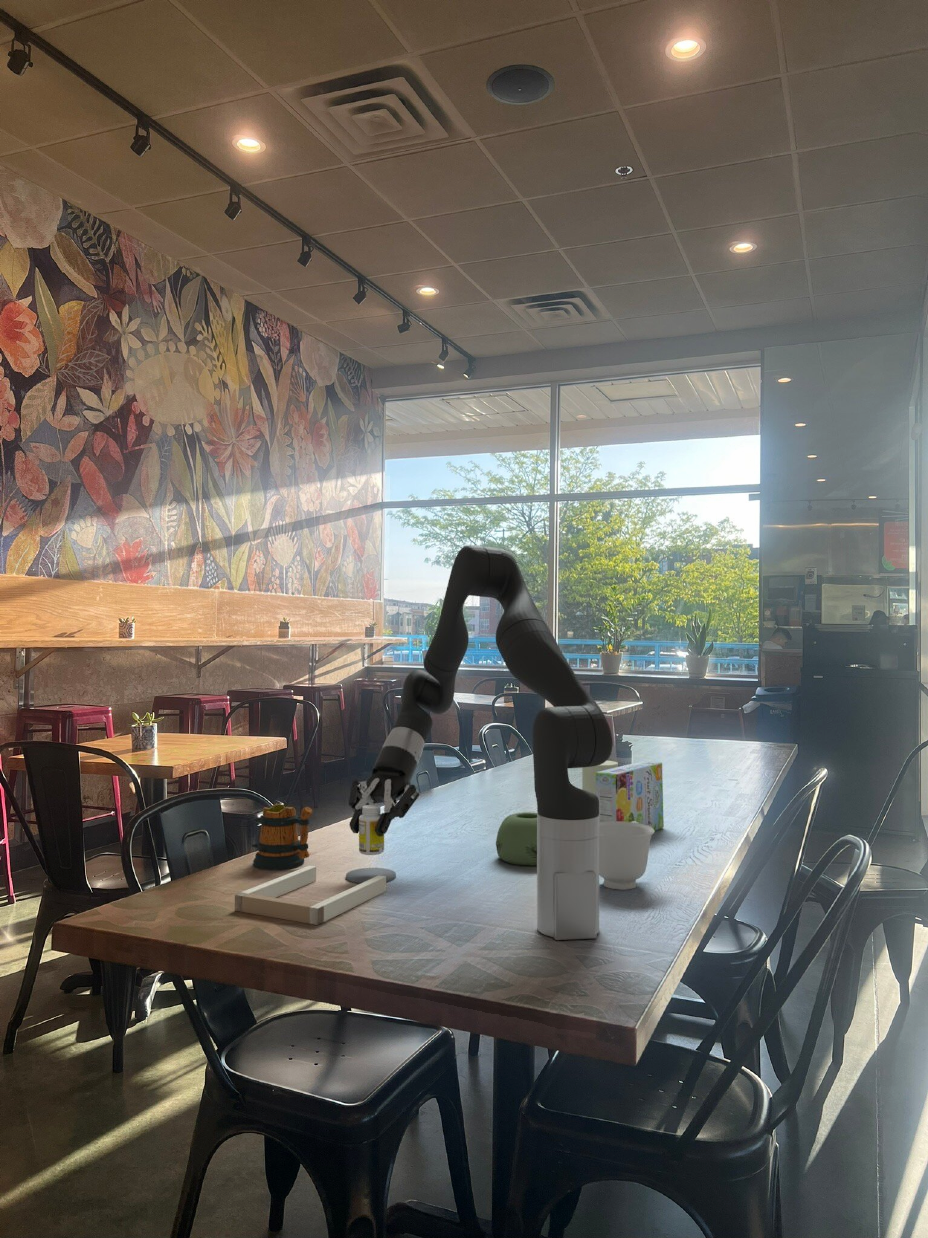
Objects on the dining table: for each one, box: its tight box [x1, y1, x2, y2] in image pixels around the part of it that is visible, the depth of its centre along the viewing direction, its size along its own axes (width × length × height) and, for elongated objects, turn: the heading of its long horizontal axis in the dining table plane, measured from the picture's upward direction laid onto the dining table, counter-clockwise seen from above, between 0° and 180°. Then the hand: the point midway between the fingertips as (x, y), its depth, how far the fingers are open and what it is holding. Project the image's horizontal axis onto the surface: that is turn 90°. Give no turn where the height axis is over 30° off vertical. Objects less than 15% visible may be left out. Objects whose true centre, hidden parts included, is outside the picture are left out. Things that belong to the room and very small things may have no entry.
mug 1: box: [251, 803, 313, 871], centre depth 171 cm, size 13×10×12 cm
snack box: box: [596, 760, 665, 832], centre depth 197 cm, size 21×6×15 cm, turn 141°
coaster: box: [345, 867, 397, 884], centre depth 162 cm, size 9×9×1 cm
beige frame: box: [234, 865, 387, 926], centre depth 148 cm, size 20×16×2 cm
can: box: [581, 760, 619, 795], centre depth 227 cm, size 9×9×12 cm
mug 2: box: [495, 811, 537, 866], centre depth 176 cm, size 16×13×9 cm
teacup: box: [599, 821, 656, 891], centre depth 158 cm, size 12×15×10 cm
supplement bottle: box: [358, 804, 385, 856], centre depth 162 cm, size 5×5×8 cm
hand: (366, 832), depth 161 cm, fingers closed on supplement bottle, 4 cm apart
